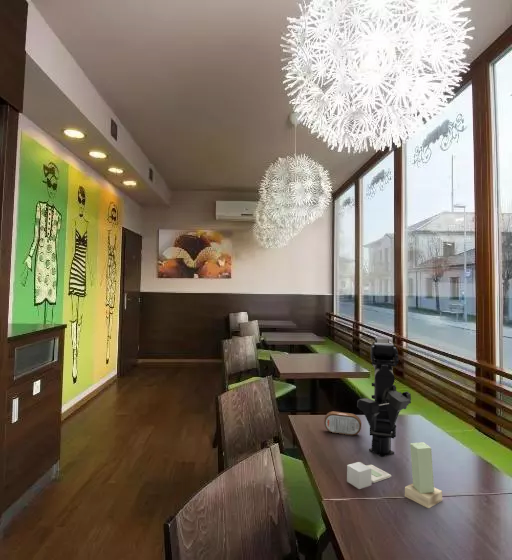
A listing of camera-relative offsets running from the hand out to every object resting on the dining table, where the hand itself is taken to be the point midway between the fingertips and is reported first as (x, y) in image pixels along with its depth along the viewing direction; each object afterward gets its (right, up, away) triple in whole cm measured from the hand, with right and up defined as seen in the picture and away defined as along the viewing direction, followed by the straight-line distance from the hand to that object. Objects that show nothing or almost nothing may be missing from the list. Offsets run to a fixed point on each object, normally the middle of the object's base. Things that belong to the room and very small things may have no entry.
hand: (383, 428), depth 119 cm
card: (-5, -13, -4) cm, 14 cm away
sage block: (+5, -10, -18) cm, 21 cm away
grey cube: (-11, -12, -10) cm, 19 cm away
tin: (-6, -15, +29) cm, 33 cm away
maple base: (+5, -13, -18) cm, 22 cm away
